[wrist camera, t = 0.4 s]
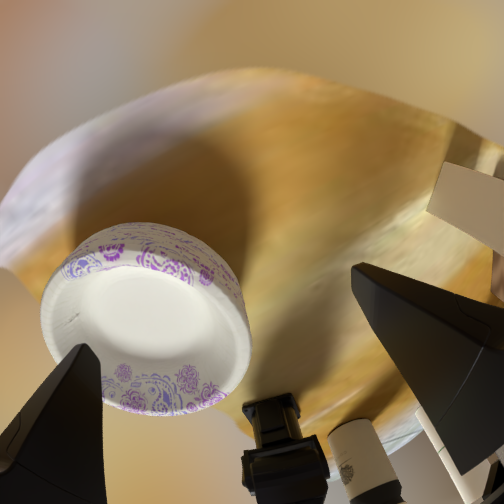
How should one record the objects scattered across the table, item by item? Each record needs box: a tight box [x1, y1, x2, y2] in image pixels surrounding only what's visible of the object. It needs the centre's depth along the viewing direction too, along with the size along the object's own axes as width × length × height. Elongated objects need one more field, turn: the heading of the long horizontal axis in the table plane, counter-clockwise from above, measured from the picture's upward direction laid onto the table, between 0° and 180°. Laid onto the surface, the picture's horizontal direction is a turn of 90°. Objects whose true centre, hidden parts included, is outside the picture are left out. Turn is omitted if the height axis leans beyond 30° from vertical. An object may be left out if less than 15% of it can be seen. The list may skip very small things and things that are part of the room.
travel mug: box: [327, 419, 407, 504], centre depth 32 cm, size 8×8×18 cm
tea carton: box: [426, 161, 504, 256], centre depth 19 cm, size 6×6×12 cm
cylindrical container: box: [415, 406, 491, 504], centre depth 32 cm, size 7×7×25 cm
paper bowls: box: [40, 222, 252, 416], centre depth 20 cm, size 15×15×8 cm
